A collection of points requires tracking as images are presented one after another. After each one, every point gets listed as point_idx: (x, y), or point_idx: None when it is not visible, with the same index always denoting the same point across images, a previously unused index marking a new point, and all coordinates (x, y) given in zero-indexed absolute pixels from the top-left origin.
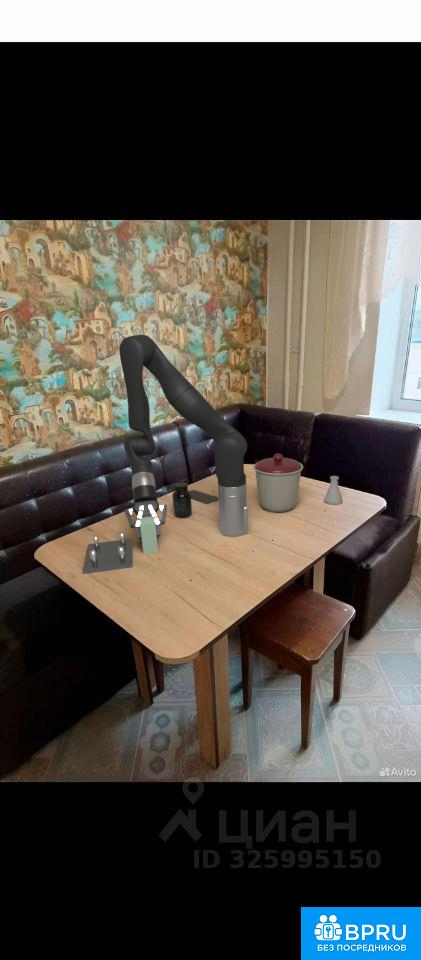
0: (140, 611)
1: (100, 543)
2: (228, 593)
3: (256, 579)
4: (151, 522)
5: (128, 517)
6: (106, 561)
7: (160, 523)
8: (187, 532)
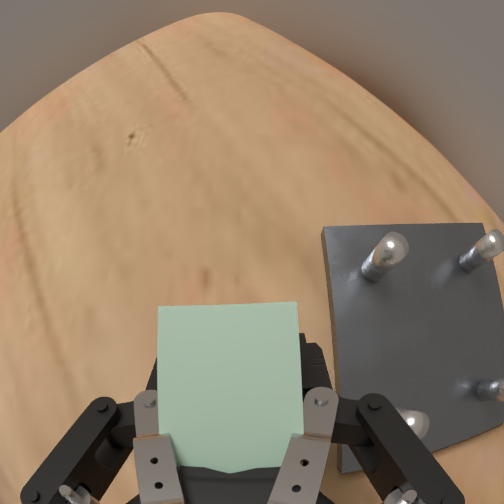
0: (272, 61)
1: (476, 427)
2: (81, 98)
3: (17, 140)
4: (188, 329)
5: (413, 449)
6: (431, 264)
7: (133, 402)
8: None
